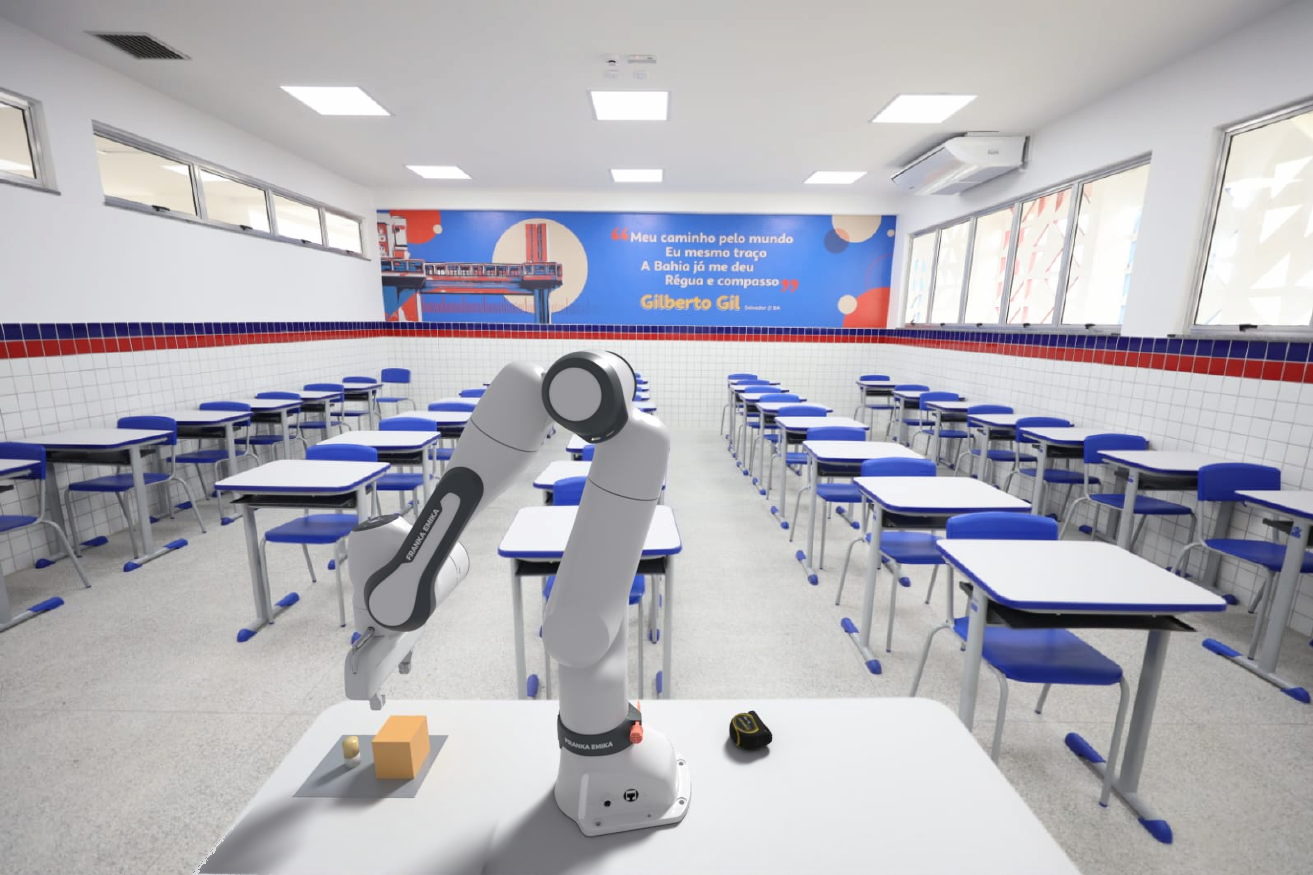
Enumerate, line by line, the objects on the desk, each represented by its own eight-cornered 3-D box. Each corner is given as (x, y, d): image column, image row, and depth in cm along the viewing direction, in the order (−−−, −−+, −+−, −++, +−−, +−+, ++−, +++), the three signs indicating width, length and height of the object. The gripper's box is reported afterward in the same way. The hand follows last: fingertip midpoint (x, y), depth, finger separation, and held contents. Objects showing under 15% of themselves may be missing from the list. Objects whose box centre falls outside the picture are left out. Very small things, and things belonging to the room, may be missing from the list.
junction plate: (449, 742, 104) (446, 713, 103) (415, 805, 90) (411, 772, 89) (343, 741, 105) (339, 713, 104) (293, 804, 91) (288, 772, 90)
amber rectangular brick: (430, 750, 100) (426, 715, 99) (414, 778, 94) (409, 741, 93) (395, 750, 100) (390, 715, 99) (376, 778, 94) (371, 741, 93)
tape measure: (774, 749, 101) (774, 730, 100) (739, 758, 99) (739, 739, 98) (756, 724, 107) (756, 706, 107) (723, 732, 105) (723, 714, 105)
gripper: (370, 649, 81) (379, 733, 84) (430, 585, 101) (436, 654, 104) (327, 648, 82) (338, 732, 84) (395, 584, 102) (402, 654, 104)
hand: (392, 688), depth 94 cm, fingers open, 8 cm apart
